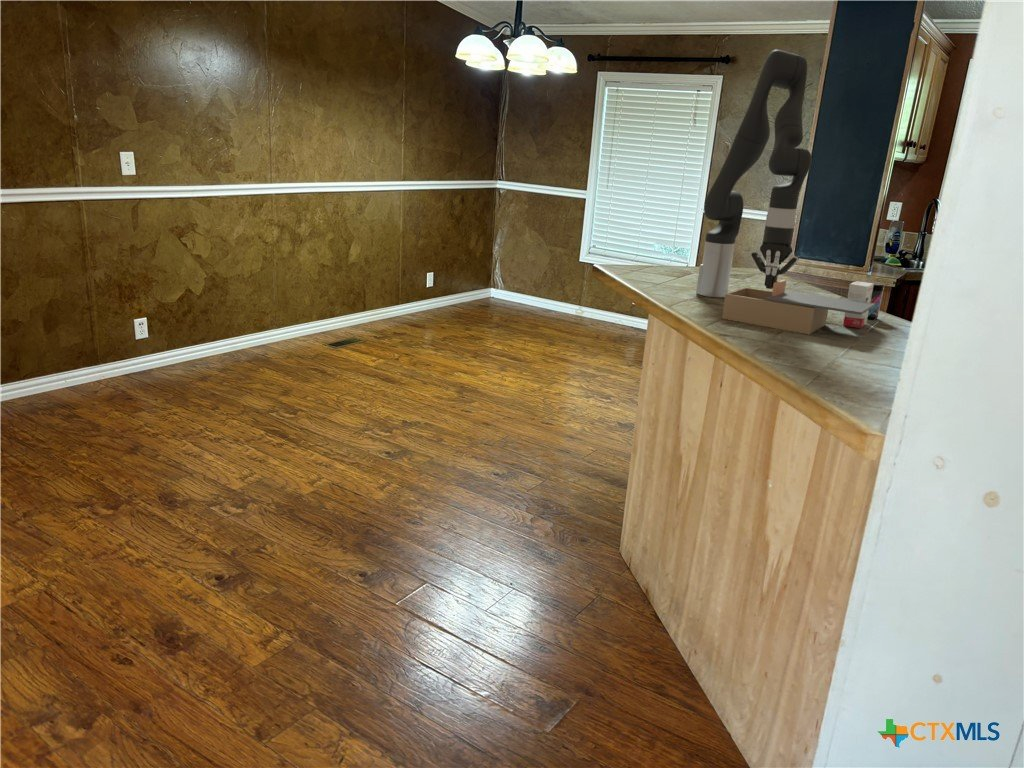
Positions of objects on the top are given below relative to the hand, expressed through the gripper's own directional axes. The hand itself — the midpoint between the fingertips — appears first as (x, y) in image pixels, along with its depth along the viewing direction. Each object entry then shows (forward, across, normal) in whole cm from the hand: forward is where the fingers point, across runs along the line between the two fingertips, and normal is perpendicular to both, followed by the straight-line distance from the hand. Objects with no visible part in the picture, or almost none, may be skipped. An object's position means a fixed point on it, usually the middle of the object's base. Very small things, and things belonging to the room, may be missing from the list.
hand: (769, 288), depth 204 cm
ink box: (+9, +20, +15) cm, 27 cm away
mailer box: (+9, +2, 0) cm, 9 cm away
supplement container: (+9, +20, +29) cm, 37 cm away
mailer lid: (+2, +14, 0) cm, 14 cm away
